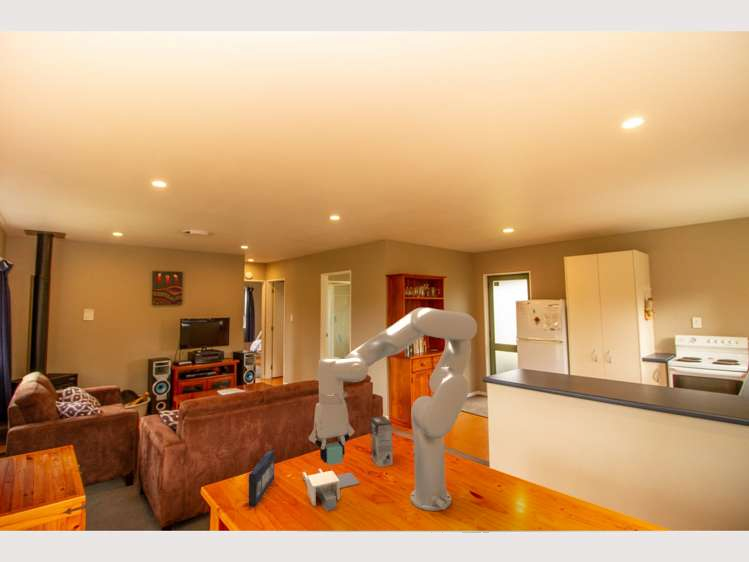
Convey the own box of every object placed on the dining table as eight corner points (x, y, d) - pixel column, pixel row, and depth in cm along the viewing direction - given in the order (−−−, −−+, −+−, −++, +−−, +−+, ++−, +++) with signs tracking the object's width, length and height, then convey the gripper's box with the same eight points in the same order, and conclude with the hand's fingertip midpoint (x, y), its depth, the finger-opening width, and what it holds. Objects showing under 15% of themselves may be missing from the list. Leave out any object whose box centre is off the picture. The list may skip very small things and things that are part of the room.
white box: (339, 499, 115) (339, 480, 115) (313, 506, 111) (313, 486, 112) (323, 473, 133) (323, 457, 133) (300, 478, 130) (300, 461, 130)
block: (342, 462, 108) (342, 446, 108) (328, 465, 106) (327, 449, 106) (338, 456, 112) (337, 442, 112) (324, 459, 110) (323, 444, 110)
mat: (359, 484, 124) (359, 483, 124) (334, 490, 121) (334, 488, 121) (350, 473, 132) (350, 472, 132) (327, 478, 129) (327, 477, 129)
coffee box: (370, 458, 146) (369, 417, 147) (385, 455, 148) (384, 415, 149) (377, 467, 137) (376, 424, 138) (393, 464, 139) (392, 422, 140)
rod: (336, 509, 109) (336, 497, 110) (326, 512, 108) (326, 500, 108) (323, 489, 122) (323, 478, 122) (314, 491, 121) (314, 480, 121)
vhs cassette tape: (256, 507, 112) (256, 474, 112) (246, 507, 112) (246, 474, 112) (275, 479, 130) (275, 450, 131) (267, 479, 130) (267, 450, 131)
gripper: (352, 392, 118) (354, 449, 116) (301, 399, 111) (302, 460, 109) (361, 397, 111) (362, 458, 109) (307, 404, 104) (308, 470, 103)
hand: (332, 458), depth 109 cm, fingers closed on block, 4 cm apart
